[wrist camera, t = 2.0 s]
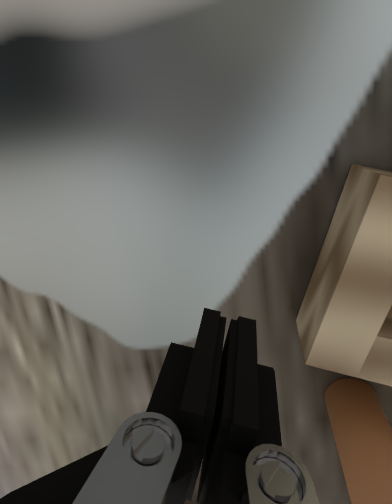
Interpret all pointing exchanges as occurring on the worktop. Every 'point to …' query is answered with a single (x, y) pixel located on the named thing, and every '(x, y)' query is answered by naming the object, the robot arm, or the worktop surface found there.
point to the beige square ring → (353, 284)
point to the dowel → (361, 440)
